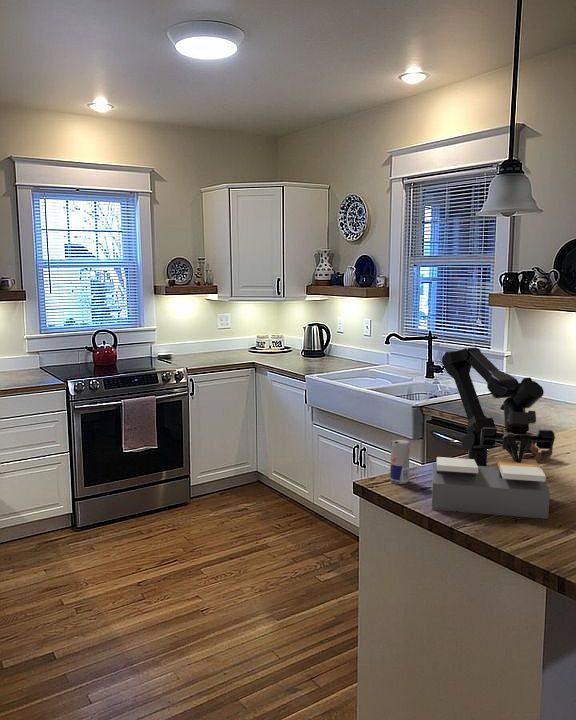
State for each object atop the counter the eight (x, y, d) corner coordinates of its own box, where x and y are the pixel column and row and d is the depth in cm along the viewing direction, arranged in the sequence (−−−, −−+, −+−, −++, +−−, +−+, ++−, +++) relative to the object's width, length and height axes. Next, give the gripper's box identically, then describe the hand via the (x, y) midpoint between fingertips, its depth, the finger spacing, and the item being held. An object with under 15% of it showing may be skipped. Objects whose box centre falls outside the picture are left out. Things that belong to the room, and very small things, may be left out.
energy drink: (388, 478, 188) (389, 438, 187) (406, 478, 189) (407, 438, 187) (392, 484, 183) (393, 443, 181) (410, 484, 183) (412, 443, 182)
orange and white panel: (496, 462, 175) (496, 457, 175) (535, 464, 173) (535, 459, 173) (502, 478, 160) (503, 473, 160) (545, 481, 158) (545, 476, 158)
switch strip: (432, 486, 181) (433, 457, 180) (537, 494, 175) (538, 464, 174) (431, 509, 164) (433, 477, 163) (548, 518, 158) (550, 485, 157)
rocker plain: (436, 461, 179) (436, 456, 179) (473, 464, 177) (473, 459, 177) (437, 470, 163) (437, 465, 163) (478, 473, 161) (478, 467, 161)
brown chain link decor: (544, 455, 214) (554, 438, 209) (546, 475, 206) (556, 457, 201) (508, 445, 215) (517, 427, 210) (508, 464, 208) (518, 446, 203)
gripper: (482, 398, 176) (484, 447, 166) (555, 400, 171) (561, 450, 162) (479, 421, 184) (481, 469, 174) (548, 423, 180) (554, 473, 170)
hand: (518, 465), depth 170 cm, fingers closed, pressing on orange and white panel
